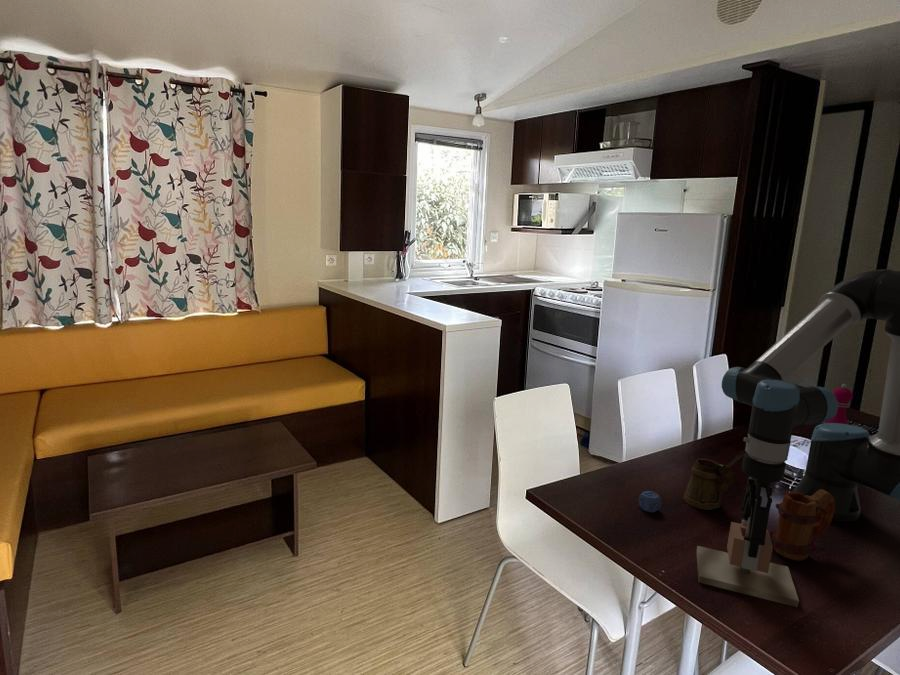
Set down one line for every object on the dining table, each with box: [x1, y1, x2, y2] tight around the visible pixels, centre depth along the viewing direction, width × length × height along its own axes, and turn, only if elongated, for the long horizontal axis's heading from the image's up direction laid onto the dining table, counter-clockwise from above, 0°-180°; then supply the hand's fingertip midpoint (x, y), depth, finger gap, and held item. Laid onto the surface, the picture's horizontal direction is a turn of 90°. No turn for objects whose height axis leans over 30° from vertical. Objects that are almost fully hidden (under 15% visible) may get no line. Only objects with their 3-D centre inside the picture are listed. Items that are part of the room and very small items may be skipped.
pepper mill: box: [824, 383, 854, 425], centre depth 201 cm, size 7×7×20 cm
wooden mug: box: [682, 450, 746, 511], centre depth 147 cm, size 9×14×18 cm, turn 41°
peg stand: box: [696, 517, 800, 608], centre depth 118 cm, size 18×12×14 cm, turn 69°
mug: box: [769, 489, 835, 561], centre depth 128 cm, size 15×8×15 cm, turn 106°
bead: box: [726, 521, 774, 573], centre depth 118 cm, size 7×7×6 cm
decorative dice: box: [638, 490, 662, 513], centre depth 146 cm, size 4×4×4 cm
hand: (746, 558), depth 118 cm, fingers closed on bead, 7 cm apart
